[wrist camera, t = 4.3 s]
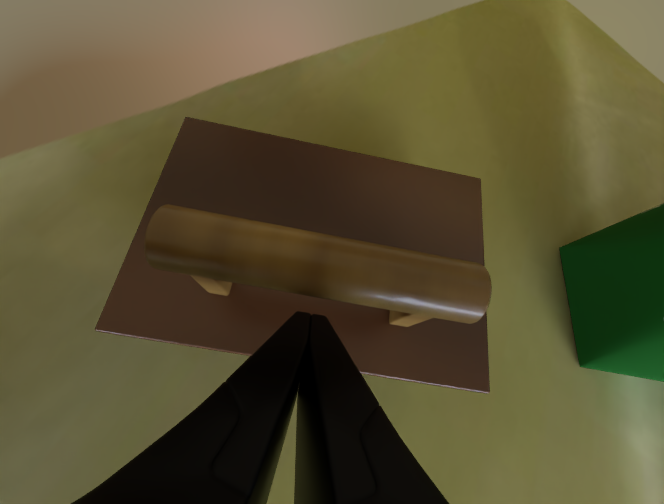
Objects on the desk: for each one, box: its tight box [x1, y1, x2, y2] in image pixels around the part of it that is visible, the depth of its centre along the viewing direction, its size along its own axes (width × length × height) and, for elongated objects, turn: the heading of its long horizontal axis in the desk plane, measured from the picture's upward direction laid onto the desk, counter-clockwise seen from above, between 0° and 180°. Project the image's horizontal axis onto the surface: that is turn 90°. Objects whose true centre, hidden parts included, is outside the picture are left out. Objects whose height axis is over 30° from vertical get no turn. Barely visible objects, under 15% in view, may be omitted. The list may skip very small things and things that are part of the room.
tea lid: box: [95, 117, 491, 393], centre depth 9 cm, size 8×12×5 cm
